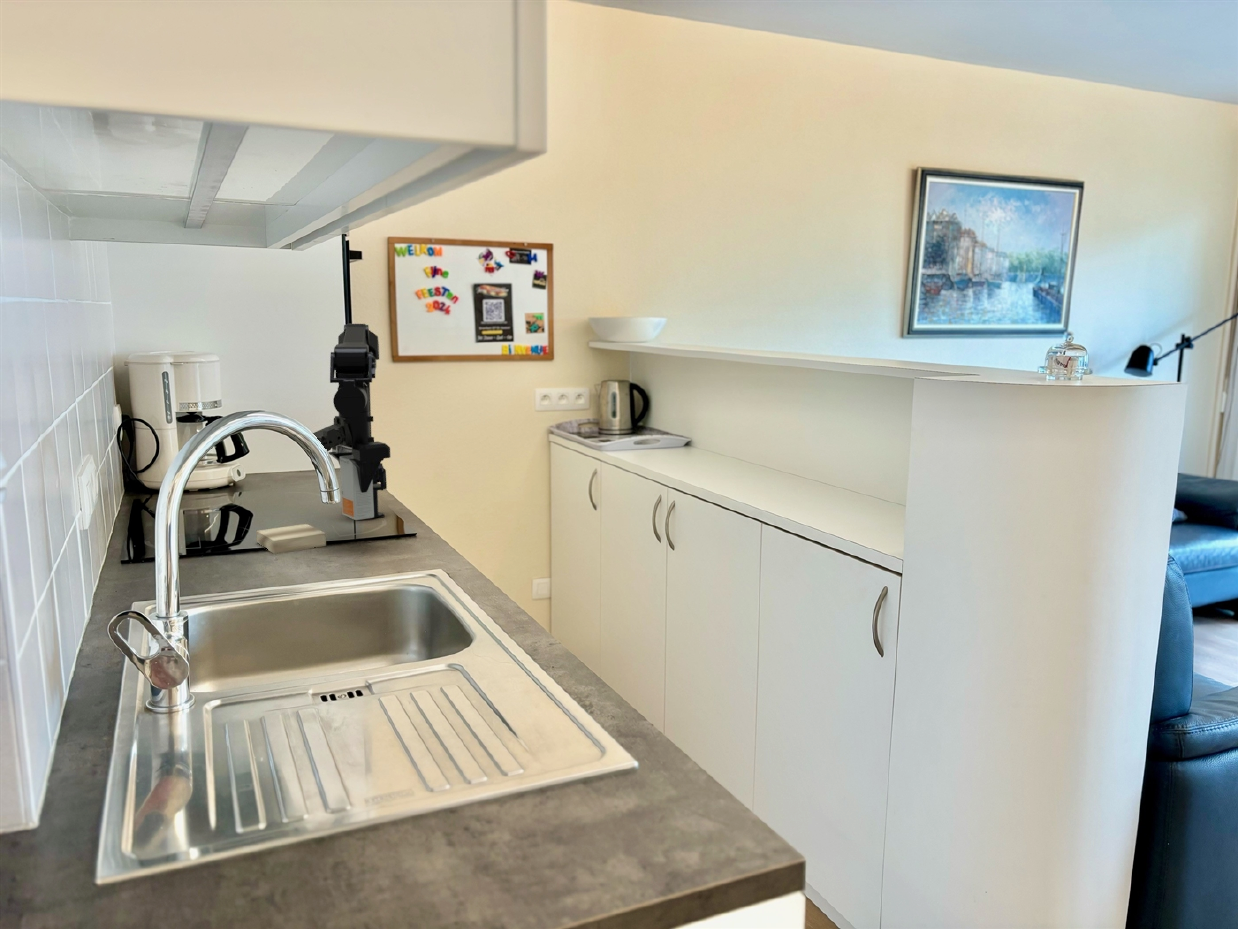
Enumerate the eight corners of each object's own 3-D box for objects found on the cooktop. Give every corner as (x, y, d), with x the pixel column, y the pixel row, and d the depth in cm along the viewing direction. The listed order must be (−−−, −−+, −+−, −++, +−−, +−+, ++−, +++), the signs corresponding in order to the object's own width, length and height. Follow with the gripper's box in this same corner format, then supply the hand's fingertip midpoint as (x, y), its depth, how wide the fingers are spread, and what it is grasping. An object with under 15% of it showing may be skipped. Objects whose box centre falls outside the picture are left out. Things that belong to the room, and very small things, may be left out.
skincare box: (341, 515, 180) (338, 456, 178) (361, 512, 182) (359, 454, 180) (354, 520, 175) (351, 459, 173) (375, 517, 178) (372, 457, 176)
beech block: (257, 545, 179) (256, 530, 178) (307, 537, 185) (306, 523, 185) (274, 556, 171) (273, 540, 171) (326, 548, 177) (325, 533, 177)
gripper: (294, 409, 177) (298, 487, 180) (333, 418, 163) (337, 502, 166) (348, 406, 184) (351, 481, 187) (390, 414, 170) (393, 495, 173)
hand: (357, 489), depth 178 cm, fingers closed on skincare box, 6 cm apart
